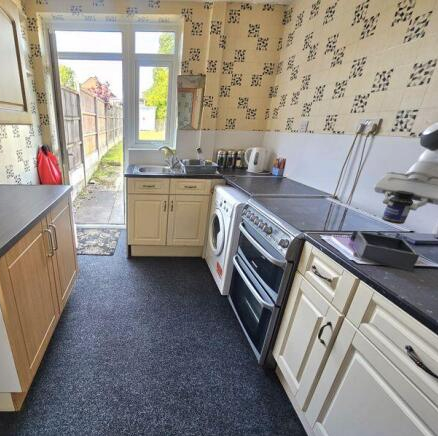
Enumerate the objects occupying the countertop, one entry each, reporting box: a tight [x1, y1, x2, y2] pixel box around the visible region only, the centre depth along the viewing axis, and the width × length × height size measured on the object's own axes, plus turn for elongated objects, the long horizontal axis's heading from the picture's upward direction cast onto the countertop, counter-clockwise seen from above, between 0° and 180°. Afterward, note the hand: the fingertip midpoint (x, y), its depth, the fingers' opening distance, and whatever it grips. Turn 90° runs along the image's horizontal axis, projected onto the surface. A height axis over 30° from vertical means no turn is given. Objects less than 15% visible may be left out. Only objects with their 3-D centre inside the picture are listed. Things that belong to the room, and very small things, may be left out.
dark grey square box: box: [352, 230, 420, 272], centre depth 89 cm, size 14×14×7 cm
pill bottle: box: [381, 190, 414, 225], centre depth 88 cm, size 6×6×11 cm
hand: (398, 206), depth 87 cm, fingers closed on pill bottle, 6 cm apart
